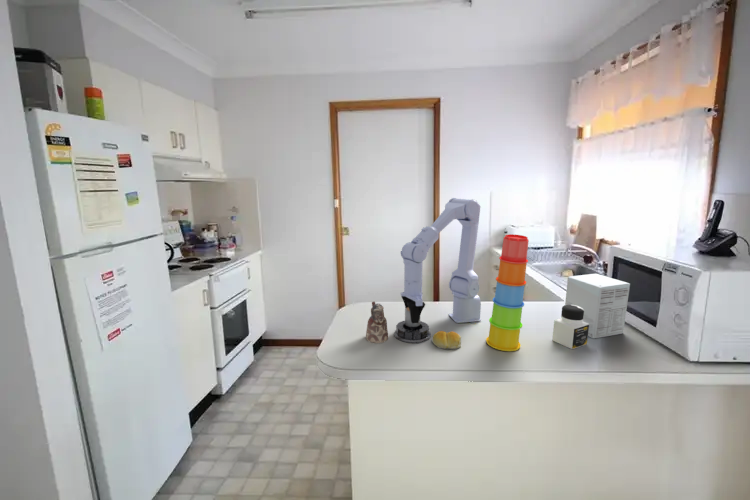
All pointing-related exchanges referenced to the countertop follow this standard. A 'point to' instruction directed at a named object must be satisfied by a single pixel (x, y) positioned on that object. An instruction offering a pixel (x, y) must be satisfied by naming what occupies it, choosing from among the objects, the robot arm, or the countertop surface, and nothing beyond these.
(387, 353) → the countertop surface
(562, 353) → the countertop surface
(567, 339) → the medicine bottle
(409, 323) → the cup
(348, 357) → the countertop surface
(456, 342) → the bread roll
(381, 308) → the figurine
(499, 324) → the stacking cups
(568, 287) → the supplement box
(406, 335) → the toothed ring bowl
